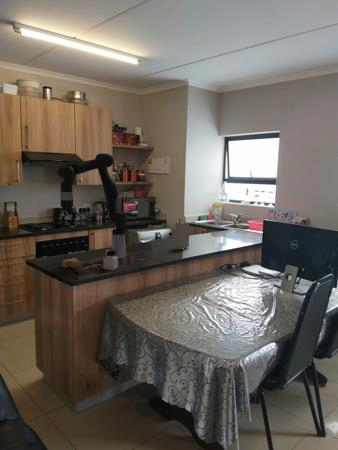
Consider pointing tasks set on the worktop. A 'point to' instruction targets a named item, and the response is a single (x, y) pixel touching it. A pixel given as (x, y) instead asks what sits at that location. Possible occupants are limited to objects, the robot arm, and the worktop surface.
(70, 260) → the T block
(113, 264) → the medicine bottle
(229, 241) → the worktop surface
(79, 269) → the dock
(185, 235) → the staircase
